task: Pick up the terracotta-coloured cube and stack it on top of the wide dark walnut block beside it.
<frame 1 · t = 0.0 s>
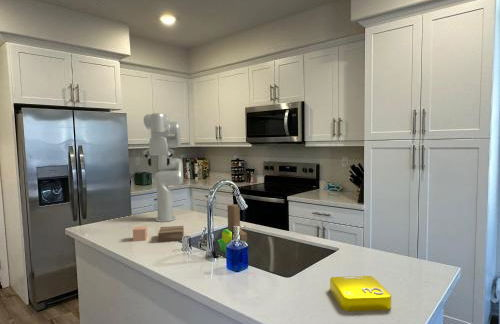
hand: (159, 165, 181), 37 cm above the worktop, tool pointing down, fingers open, 9 cm apart
wooden block: (237, 241, 159), on the worktop
terracotta cube: (140, 239, 166), on the worktop
element tile: (358, 299, 100), on the worktop
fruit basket: (230, 252, 144), on the worktop
walnut base block: (171, 238, 166), on the worktop
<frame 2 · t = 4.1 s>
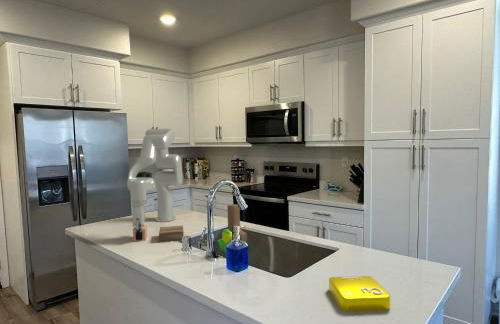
hand: (140, 237, 166), 1 cm above the worktop, tool pointing down, fingers closed on terracotta cube, 6 cm apart
terracotta cube: (140, 239, 166), on the worktop, touching gripper
everything else where it was.
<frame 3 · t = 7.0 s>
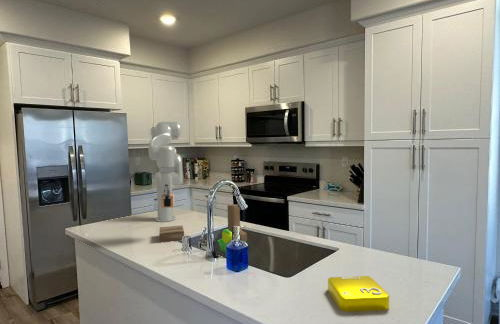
hand: (168, 204, 165), 18 cm above the worktop, tool pointing down, fingers closed on terracotta cube, 6 cm apart
terracotta cube: (168, 206, 165), point 17 cm above the worktop, touching gripper
everything else where it was.
when the fingers open (7 cm above the worktop, at t = 10.1 s): terracotta cube drops 2 cm, resting on walnut base block.
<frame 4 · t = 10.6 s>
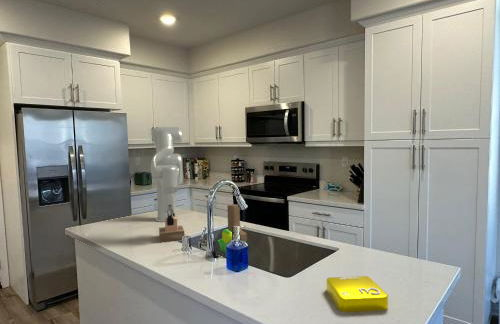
hand: (171, 222, 166), 8 cm above the worktop, tool pointing down, fingers open, 9 cm apart
terracotta cube: (171, 229, 166), point 5 cm above the worktop, touching walnut base block
walnut base block: (171, 238, 166), on the worktop, touching terracotta cube
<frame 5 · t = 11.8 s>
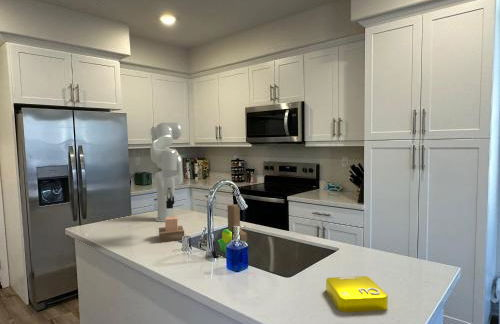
hand: (170, 206, 166), 17 cm above the worktop, tool pointing down, fingers open, 9 cm apart
terracotta cube: (171, 229, 166), point 5 cm above the worktop
walnut base block: (171, 238, 166), on the worktop
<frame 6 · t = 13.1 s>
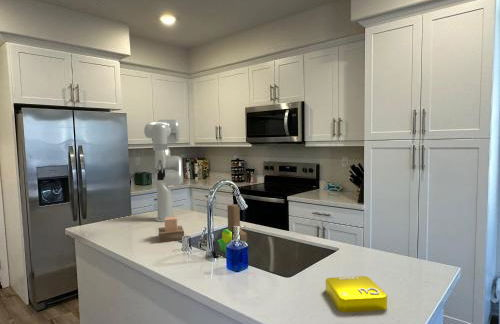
hand: (161, 178, 175), 30 cm above the worktop, tool pointing down, fingers open, 9 cm apart
terracotta cube: (171, 229, 166), point 5 cm above the worktop, touching walnut base block
walnut base block: (171, 238, 166), on the worktop, touching terracotta cube
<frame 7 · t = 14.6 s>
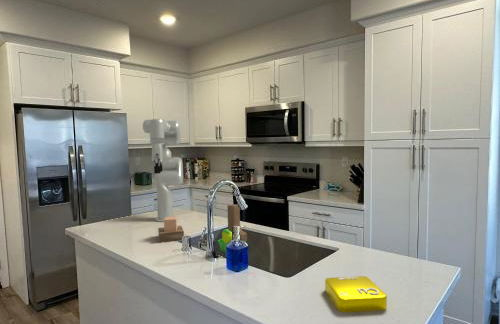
hand: (158, 172, 177), 33 cm above the worktop, tool pointing down, fingers open, 9 cm apart
at the end: terracotta cube inside the target area on the walnut base block (0.4 cm from its centre), point 5.1 cm above the walnut base block's base; terracotta cube tilted 1°; the gripper is holding nothing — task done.
